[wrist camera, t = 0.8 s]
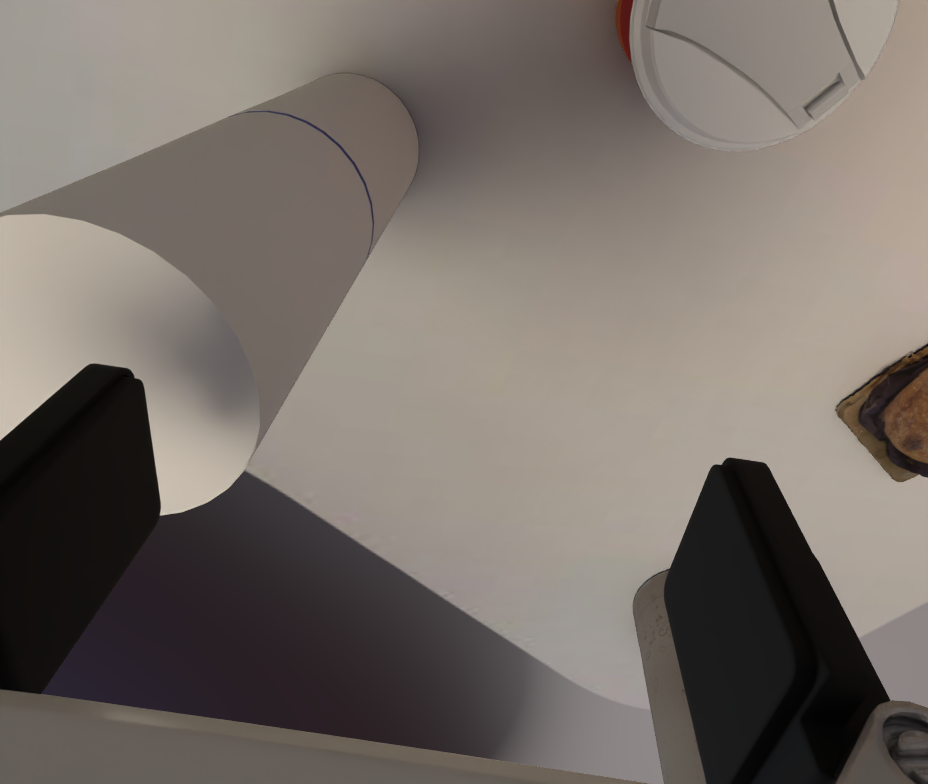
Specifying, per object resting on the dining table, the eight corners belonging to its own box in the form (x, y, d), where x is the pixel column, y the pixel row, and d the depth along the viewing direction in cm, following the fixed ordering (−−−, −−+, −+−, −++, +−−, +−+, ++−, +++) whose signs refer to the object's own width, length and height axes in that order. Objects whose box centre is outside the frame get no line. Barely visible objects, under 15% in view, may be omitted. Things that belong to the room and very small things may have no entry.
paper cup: (796, 10, 31) (972, 21, 19) (658, 133, 34) (733, 210, 22) (695, -142, 28) (824, -241, 16) (556, 6, 31) (577, 14, 19)
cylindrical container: (440, 113, 34) (304, 315, 13) (389, 236, 38) (214, 557, 16) (308, 46, 33) (-85, 144, 12) (268, 179, 37) (-91, 443, 15)
